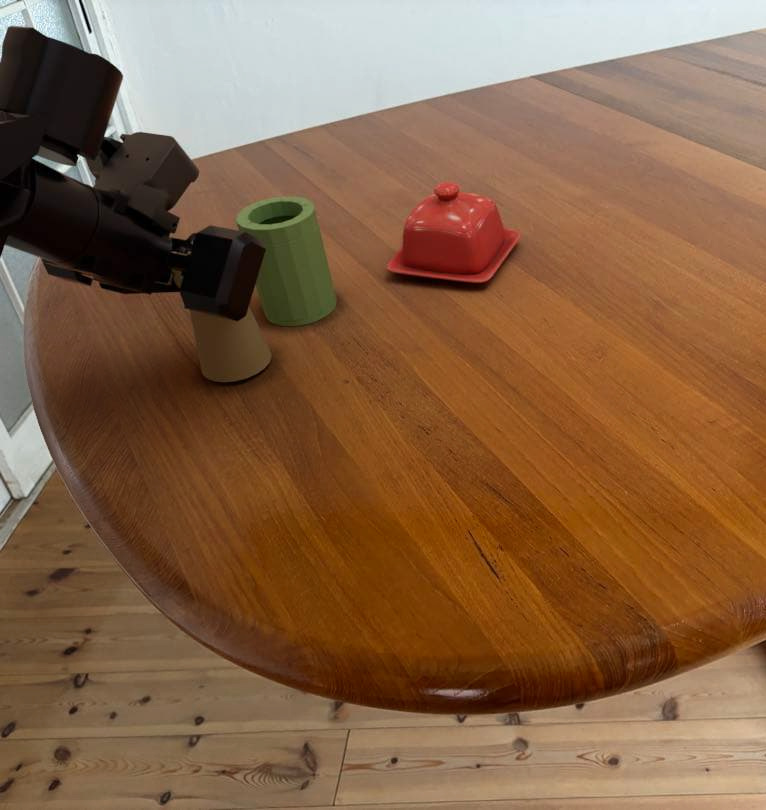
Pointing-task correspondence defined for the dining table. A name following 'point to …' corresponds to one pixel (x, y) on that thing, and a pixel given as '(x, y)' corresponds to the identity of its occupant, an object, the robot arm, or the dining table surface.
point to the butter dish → (453, 237)
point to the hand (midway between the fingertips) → (226, 289)
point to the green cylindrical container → (290, 260)
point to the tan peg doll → (228, 344)
